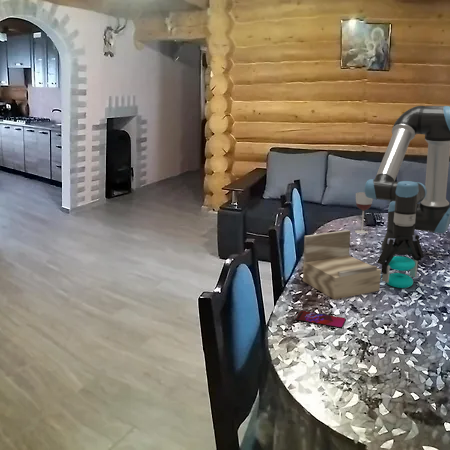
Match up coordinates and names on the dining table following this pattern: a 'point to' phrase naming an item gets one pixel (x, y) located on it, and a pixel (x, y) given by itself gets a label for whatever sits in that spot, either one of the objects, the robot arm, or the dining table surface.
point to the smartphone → (320, 319)
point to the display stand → (337, 266)
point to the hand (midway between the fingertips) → (399, 278)
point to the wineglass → (363, 207)
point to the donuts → (398, 278)
